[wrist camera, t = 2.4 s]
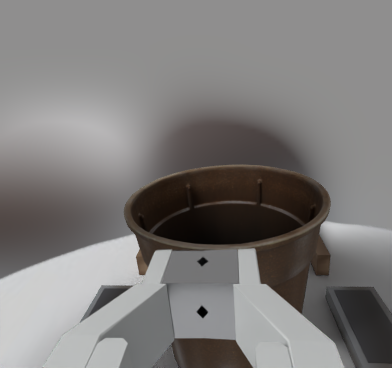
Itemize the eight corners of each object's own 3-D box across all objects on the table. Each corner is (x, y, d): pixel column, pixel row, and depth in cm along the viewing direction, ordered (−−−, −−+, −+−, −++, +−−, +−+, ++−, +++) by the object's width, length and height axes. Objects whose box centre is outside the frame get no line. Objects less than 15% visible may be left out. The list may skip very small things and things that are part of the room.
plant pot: (116, 354, 29) (81, 208, 24) (212, 269, 41) (204, 156, 35) (267, 484, 19) (269, 284, 14) (338, 323, 31) (355, 177, 25)
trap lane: (62, 368, 28) (55, 345, 27) (138, 232, 52) (136, 217, 51) (426, 384, 24) (433, 358, 23) (328, 229, 48) (330, 212, 47)
